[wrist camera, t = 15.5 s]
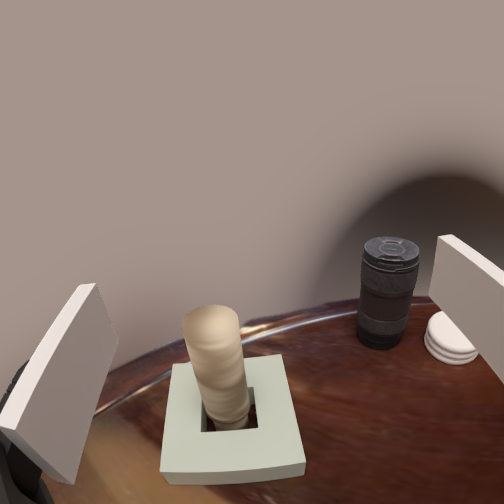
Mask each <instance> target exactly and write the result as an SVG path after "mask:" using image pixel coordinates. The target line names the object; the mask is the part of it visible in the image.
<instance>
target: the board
mask: <svg viewBox="0 0 504 504" xmlns="http://www.w3.org/2000/svg"><path fill="white" fill-rule="evenodd" d="M244 367H245V374H246V381H247V388H248V395H249V400H250V405H252V404H255V405H256V413H257V421H258V428H253V429H243V430H232V431H217V432H207V414H206V411H205V407H204V403H203V400H202V397H201V394H200V390H199V387H198V384H197V381H196V377H195V374H194V370H193V367H192V363H184V364H173V369H172V375H171V382H170V389H169V396H168V404H167V411H166V419H165V427H164V436H163V445H162V454H161V464H160V473H161V474H162V475H163V477H164V478H165V479H166V480H167V482H168V483H169V484H171V485H217V484H236V483H249V482H259V481H268V480H276V479H283V478H290V477H296V476H302V475H304V473H305V466H306V459H305V455H304V451H303V446H302V442H301V438H300V433H299V429H298V425H297V420H296V416H295V412H294V407H293V403H292V399H291V395H290V390H289V386H288V382H287V378H286V373H285V369H284V365H283V361H282V356H281V354H279V355H271V356H263V357H254V358H245V359H244Z"/></svg>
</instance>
